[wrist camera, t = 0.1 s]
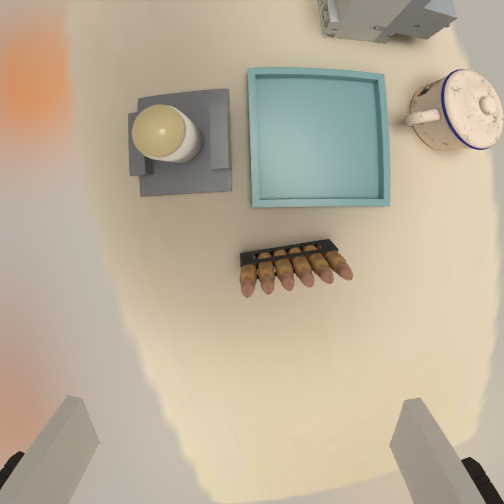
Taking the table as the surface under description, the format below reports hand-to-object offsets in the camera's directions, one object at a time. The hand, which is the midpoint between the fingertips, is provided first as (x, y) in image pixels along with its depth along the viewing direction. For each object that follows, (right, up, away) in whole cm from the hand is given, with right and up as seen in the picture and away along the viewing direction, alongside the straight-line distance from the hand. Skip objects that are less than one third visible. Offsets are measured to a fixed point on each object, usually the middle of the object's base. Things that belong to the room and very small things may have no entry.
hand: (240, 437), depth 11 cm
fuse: (-7, +20, +24) cm, 32 cm away
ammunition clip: (+4, +7, +27) cm, 28 cm away
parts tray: (+8, +20, +24) cm, 32 cm away
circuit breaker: (+16, +37, +20) cm, 45 cm away
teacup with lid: (+23, +24, +23) cm, 40 cm away
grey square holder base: (-7, +20, +24) cm, 32 cm away
